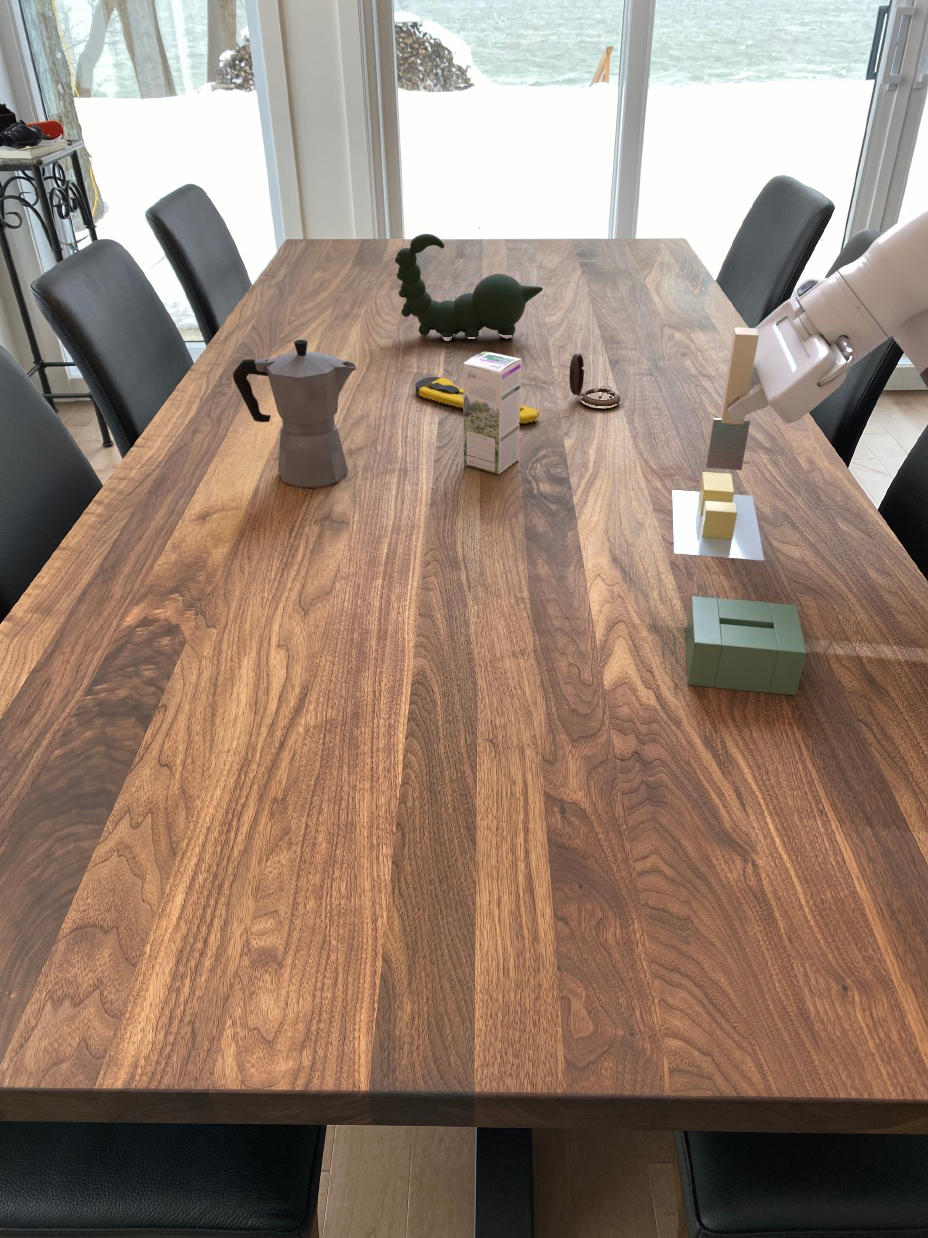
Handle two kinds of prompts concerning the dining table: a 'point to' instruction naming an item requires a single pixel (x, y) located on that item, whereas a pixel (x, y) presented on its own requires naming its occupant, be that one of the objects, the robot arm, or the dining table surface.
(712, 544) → the butter dish
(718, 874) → the dining table surface
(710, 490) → the butter stick
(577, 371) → the compass
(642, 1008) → the dining table surface
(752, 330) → the putty knife
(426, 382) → the utility knife
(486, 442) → the syrup box
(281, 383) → the coffeepot
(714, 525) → the butter pat
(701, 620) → the knife block
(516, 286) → the toy figurine
